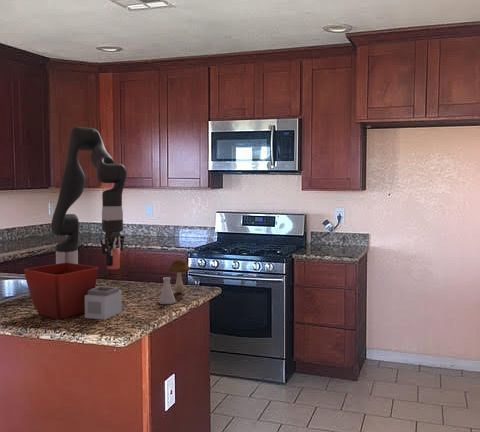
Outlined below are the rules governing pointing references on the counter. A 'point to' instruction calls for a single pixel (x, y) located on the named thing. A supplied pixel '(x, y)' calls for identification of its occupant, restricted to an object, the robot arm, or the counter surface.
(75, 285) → the plant pot
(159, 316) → the counter surface
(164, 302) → the flask
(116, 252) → the pink cylinder white tip
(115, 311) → the grey box device
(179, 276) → the mushroom
